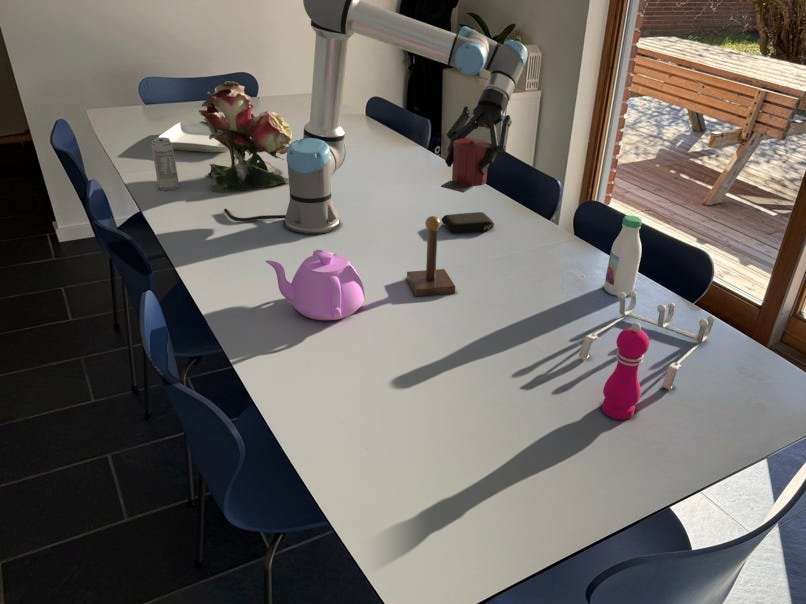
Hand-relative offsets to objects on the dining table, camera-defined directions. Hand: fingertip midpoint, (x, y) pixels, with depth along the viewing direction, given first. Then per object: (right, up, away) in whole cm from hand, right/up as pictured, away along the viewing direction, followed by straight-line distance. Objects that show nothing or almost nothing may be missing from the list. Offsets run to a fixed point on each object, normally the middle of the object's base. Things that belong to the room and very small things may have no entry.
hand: (464, 168), depth 190 cm
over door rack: (+42, -48, -25) cm, 69 cm away
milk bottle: (+40, -33, -1) cm, 52 cm away
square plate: (-98, +29, +77) cm, 128 cm away
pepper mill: (+31, -61, -47) cm, 83 cm away
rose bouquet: (-74, +11, +50) cm, 90 cm away
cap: (0, -3, +3) cm, 4 cm away
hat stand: (-9, -32, -7) cm, 34 cm away
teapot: (-34, -39, -21) cm, 56 cm away
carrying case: (0, -11, +27) cm, 29 cm away
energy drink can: (-94, +4, +37) cm, 101 cm away
